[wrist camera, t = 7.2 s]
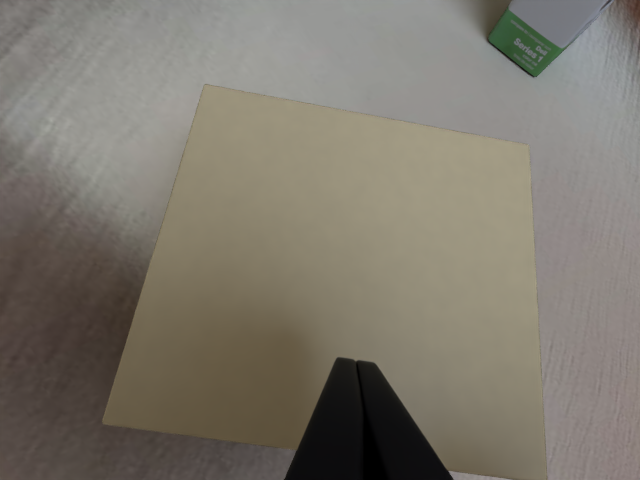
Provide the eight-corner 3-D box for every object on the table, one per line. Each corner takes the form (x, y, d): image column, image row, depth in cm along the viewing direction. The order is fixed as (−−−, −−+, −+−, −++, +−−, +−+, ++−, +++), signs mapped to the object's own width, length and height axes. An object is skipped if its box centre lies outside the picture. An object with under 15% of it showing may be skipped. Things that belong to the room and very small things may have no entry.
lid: (207, 97, 14) (203, 82, 13) (517, 154, 14) (530, 143, 14) (112, 419, 10) (99, 425, 9) (530, 475, 11) (549, 485, 10)
